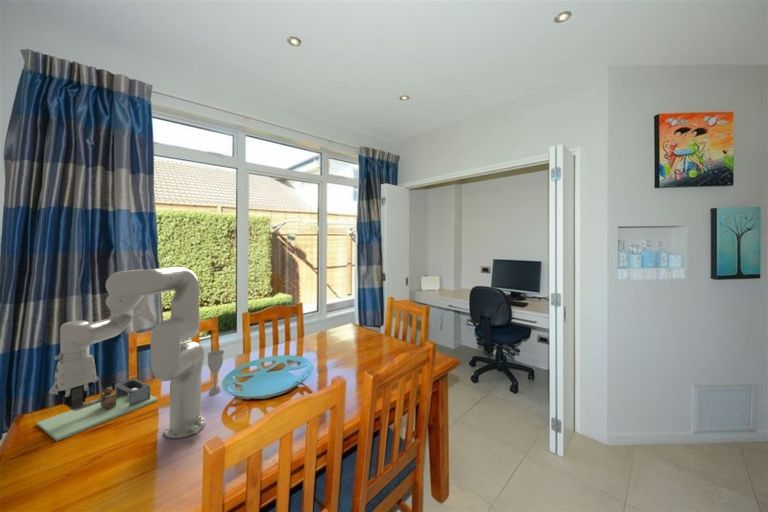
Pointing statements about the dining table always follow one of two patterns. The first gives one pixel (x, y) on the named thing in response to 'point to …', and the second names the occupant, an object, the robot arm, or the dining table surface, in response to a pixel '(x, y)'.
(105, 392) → the striker
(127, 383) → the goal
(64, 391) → the robot arm
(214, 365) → the chalice
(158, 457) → the dining table surface
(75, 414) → the plate
